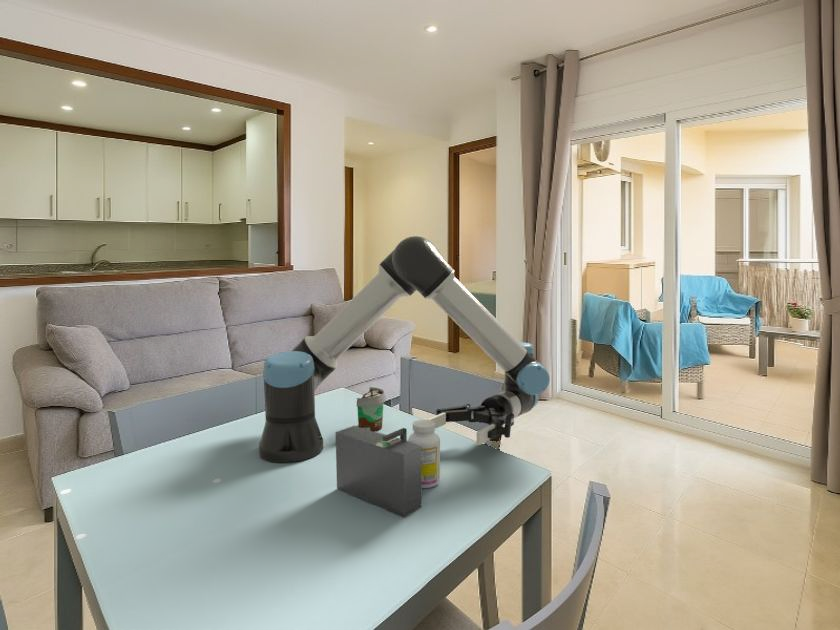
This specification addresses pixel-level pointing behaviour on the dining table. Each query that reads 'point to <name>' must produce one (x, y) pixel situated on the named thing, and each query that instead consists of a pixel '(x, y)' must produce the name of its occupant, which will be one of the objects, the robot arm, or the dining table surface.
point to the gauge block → (379, 470)
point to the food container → (371, 409)
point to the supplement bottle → (427, 451)
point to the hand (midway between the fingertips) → (451, 431)
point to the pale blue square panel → (396, 435)
